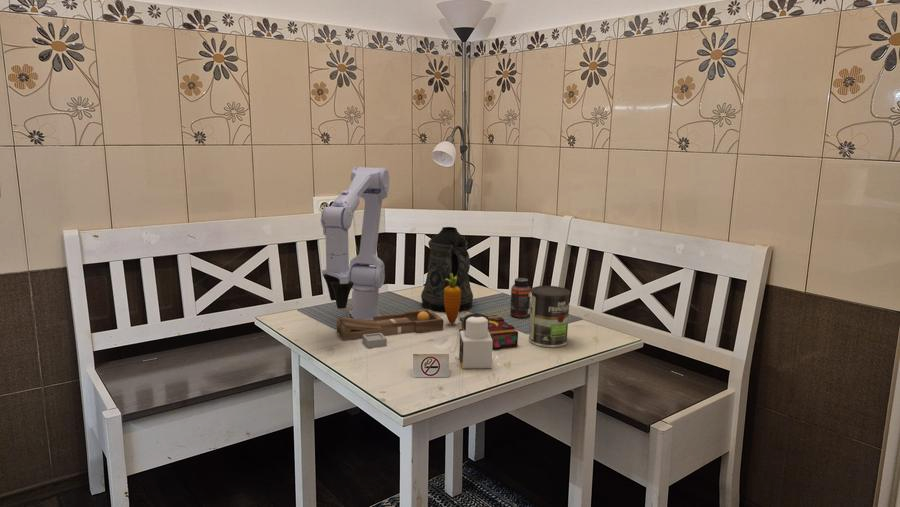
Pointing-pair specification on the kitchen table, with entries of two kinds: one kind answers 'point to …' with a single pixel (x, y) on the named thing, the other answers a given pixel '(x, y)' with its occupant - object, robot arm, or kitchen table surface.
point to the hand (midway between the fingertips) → (338, 303)
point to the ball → (423, 316)
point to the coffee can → (549, 316)
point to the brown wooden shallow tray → (388, 325)
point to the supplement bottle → (520, 298)
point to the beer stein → (447, 269)
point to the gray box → (374, 340)
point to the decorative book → (499, 332)
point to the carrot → (452, 299)
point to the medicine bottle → (475, 342)
